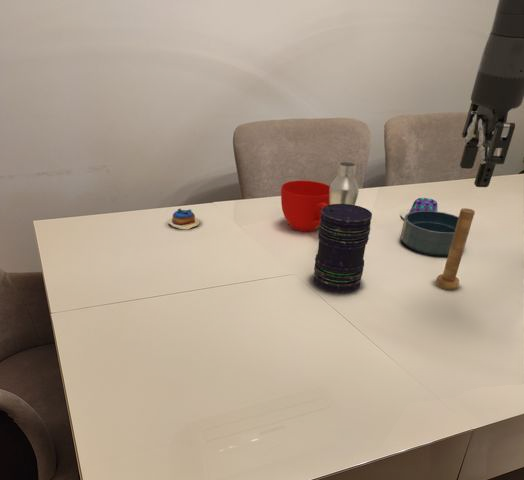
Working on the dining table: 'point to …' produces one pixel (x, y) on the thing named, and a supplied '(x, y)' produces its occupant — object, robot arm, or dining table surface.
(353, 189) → the silver bottle
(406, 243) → the bowl
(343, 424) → the dining table surface
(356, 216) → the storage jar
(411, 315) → the dining table surface
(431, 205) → the purple patterned hat
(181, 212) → the dessert
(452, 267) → the stirring stick
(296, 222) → the ceramic cup
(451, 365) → the dining table surface
